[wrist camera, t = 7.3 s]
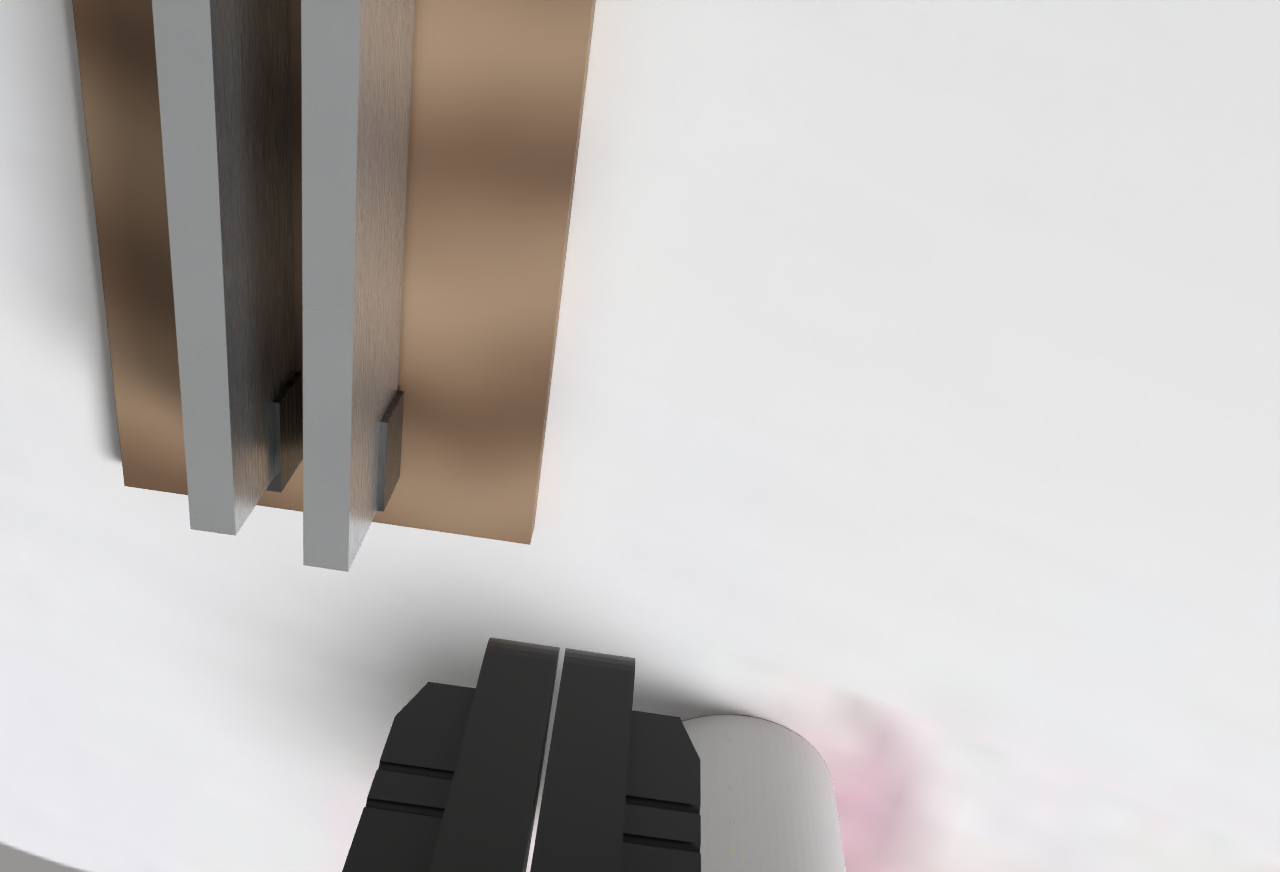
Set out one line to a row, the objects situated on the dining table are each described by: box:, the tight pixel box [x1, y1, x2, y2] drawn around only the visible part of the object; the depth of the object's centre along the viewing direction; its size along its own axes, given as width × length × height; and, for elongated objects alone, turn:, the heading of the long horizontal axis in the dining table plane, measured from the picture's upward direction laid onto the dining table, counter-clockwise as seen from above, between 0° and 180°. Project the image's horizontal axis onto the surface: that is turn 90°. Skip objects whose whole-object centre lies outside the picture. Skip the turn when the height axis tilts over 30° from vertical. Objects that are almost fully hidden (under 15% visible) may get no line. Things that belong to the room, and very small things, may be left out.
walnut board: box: [72, 0, 596, 544], centre depth 28 cm, size 26×13×1 cm, turn 172°
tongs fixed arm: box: [152, 0, 303, 535], centre depth 25 cm, size 24×4×6 cm, turn 172°
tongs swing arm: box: [301, 0, 415, 572], centre depth 26 cm, size 20×2×5 cm, turn 171°
